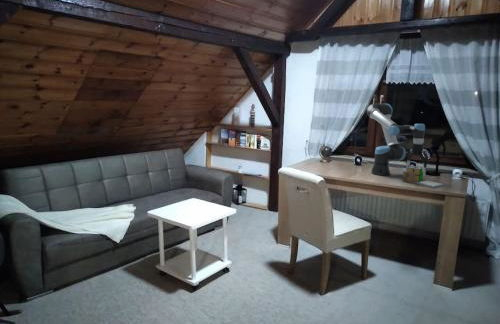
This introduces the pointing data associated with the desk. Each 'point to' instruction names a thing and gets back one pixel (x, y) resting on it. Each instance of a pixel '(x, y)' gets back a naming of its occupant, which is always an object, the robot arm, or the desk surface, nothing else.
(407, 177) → the walnut block
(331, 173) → the desk surface
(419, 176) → the puzzle cube
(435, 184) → the build board
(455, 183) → the desk surface
